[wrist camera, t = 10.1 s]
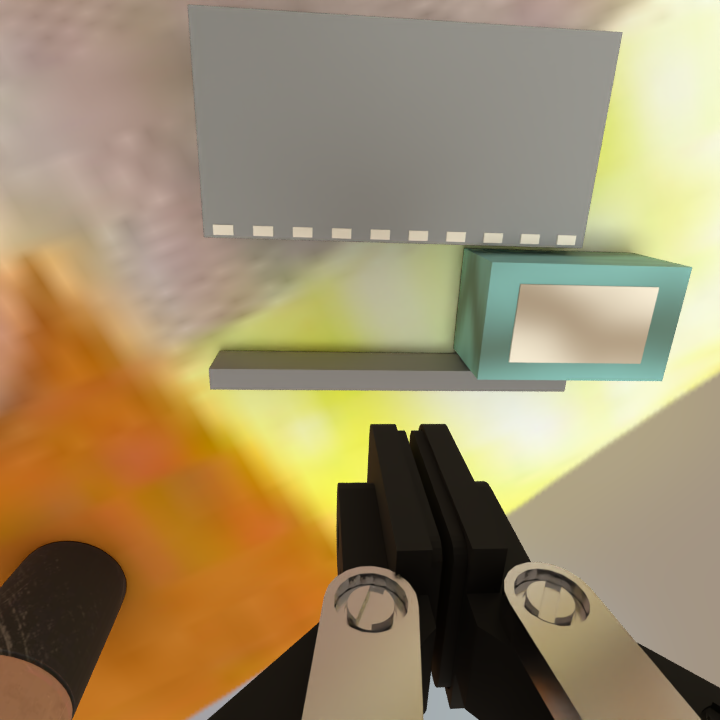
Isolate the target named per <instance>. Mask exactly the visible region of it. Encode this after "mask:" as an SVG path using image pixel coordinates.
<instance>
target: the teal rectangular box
mask: <svg viewBox="0 0 720 720" xmlns="http://www.w3.org/2000/svg"><path fill="white" fill-rule="evenodd" d="M691 270H692V267H688V266H684V265H680V264H676V263H672V262H668V261H663V260H659V259H655V258H651V257H647V256H643V255H639V254H635V253H615V252H580V251H544V250H509V249H474V248H464V255H463V264H462V274H461V283H460V293H459V302H458V311H457V321H456V330H455V339H454V350H455V351H456V352H457V353H458V355H459V356H460V357H461V359H462V360H463V361H464V363H465V364H466V365H467V367H468V368H469V369H470V371H471V372H472V373H473V374H474V376H475V377H476V378H477V380H597V381H662V379H663V376H664V372H665V368H666V364H667V361H668V357H669V353H670V349H671V345H672V342H673V338H674V334H675V330H676V327H677V323H678V319H679V315H680V312H681V308H682V304H683V300H684V297H685V293H686V289H687V285H688V282H689V278H690V274H691Z"/></svg>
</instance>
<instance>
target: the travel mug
mask: <svg viewBox="0 0 720 720" xmlns="http://www.w3.org/2000/svg"><path fill="white" fill-rule="evenodd" d="M125 593H126V580H125V576H124V573H123V571H122V569H121V568H120V566H119V565H118V564H117V562H116V561H115V560H114V559H113V558H112V557H110V556H109V555H108V554H107V553H105V552H103V551H102V550H100V549H98V548H96V547H93V546H90V545H87V544H83V543H78V542H56V543H51V544H48V545H45V546H42V547H40V548H38V549H37V550H35V551H34V552H32V553H31V554H30V555H29V556H28V557H27V558H26V559H25V560H24V561H23V562H22V563H21V564H20V566H19V567H18V568H17V569H16V570H15V571H14V572H13V574H12V575H11V576H10V577H9V578H8V579H7V581H6V582H5V583H4V584H3V585H2V586H1V588H0V720H72V718H73V716H74V714H75V712H76V709H77V707H78V705H79V702H80V700H81V698H82V695H83V693H84V691H85V688H86V686H87V684H88V682H89V679H90V677H91V675H92V672H93V670H94V668H95V665H96V663H97V661H98V658H99V656H100V654H101V651H102V649H103V647H104V645H105V642H106V640H107V638H108V635H109V633H110V631H111V628H112V626H113V624H114V621H115V619H116V617H117V614H118V612H119V610H120V607H121V605H122V602H123V599H124V596H125Z"/></svg>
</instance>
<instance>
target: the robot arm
mask: <svg viewBox="0 0 720 720" xmlns="http://www.w3.org/2000/svg"><path fill="white" fill-rule="evenodd" d="M337 569H338V576H337V577H336V578H335V579H334V580H333V581H332V582H331V583H330V585H329V586H328V588H327V591H326V593H325V596H324V600H323V606H322V611H321V617H320V622H319V623H318V624H317V625H316V626H314V627H313V628H312V629H311V630H310V631H309V632H308V633H306V634H305V635H304V636H303V637H302V638H301V639H299V640H298V641H297V642H296V643H295V644H294V645H293V646H291V647H290V648H289V649H288V650H287V651H286V652H285V653H283V654H282V655H281V656H280V657H279V658H278V659H277V660H275V661H274V662H273V663H272V664H271V665H270V666H268V667H267V668H266V669H265V670H264V671H263V672H262V673H260V674H259V675H258V676H257V677H256V678H255V679H254V680H252V681H251V682H250V683H249V684H248V685H247V686H246V687H244V688H243V689H242V690H241V691H240V692H239V693H237V694H236V695H235V696H234V697H233V698H232V699H231V700H230V701H228V702H227V703H226V704H225V705H224V706H223V707H222V708H220V709H219V710H218V711H217V712H216V713H215V714H213V715H212V716H211V717H210V718H209V719H208V720H423V714H424V713H425V711H426V709H427V700H428V692H429V684H430V676H431V672H432V677H433V681H434V684H435V686H436V687H445V690H446V694H447V698H448V702H449V707H450V709H455V708H465V709H466V710H467V711H468V712H470V713H471V714H472V715H474V716H475V717H476V718H477V719H479V720H720V688H719V687H717V686H716V685H714V684H712V683H710V682H708V681H706V680H705V679H703V678H701V677H699V676H697V675H695V674H693V673H692V672H690V671H688V670H686V669H684V668H682V667H681V666H679V665H677V664H675V663H673V662H671V661H670V660H668V659H666V658H664V657H662V656H661V655H659V654H657V653H655V652H653V651H652V650H649V649H648V648H646V647H644V646H642V645H641V644H639V643H637V642H636V641H635V640H634V639H633V638H632V637H631V635H630V634H629V633H628V632H627V631H626V629H625V628H624V627H623V626H622V625H621V624H620V622H619V621H618V620H617V619H616V618H615V616H614V615H613V614H612V613H611V612H610V610H609V609H608V608H607V607H606V606H605V605H604V603H603V602H602V601H601V600H600V599H599V597H598V596H597V595H596V594H595V593H594V591H593V590H592V589H591V588H590V587H589V586H588V585H586V583H585V582H584V581H583V580H581V579H580V578H578V577H577V576H575V575H574V574H572V573H571V572H569V571H567V570H565V569H563V568H560V567H558V566H555V565H552V564H546V563H542V562H531V561H530V559H529V557H528V556H527V554H526V552H525V550H524V548H523V546H522V545H521V543H520V541H519V539H518V537H517V535H516V533H515V532H514V530H513V528H512V526H511V524H510V522H509V521H508V519H507V517H506V515H505V513H504V511H503V509H502V508H501V506H500V504H499V502H498V500H497V498H496V496H495V495H494V493H493V491H492V489H491V487H490V486H489V484H488V483H487V482H484V481H474V479H473V477H472V475H471V473H470V471H469V469H468V467H467V465H466V463H465V461H464V459H463V457H462V455H461V453H460V451H459V449H458V447H457V445H456V443H455V441H454V439H453V437H452V435H451V433H450V431H449V429H448V427H447V426H446V424H421V425H420V427H419V431H411V434H410V444H409V441H408V438H407V435H406V432H405V431H397V427H396V425H395V424H371V425H370V434H369V454H368V475H367V483H338V487H337Z"/></svg>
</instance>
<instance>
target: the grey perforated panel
mask: <svg viewBox="0 0 720 720" xmlns="http://www.w3.org/2000/svg"><path fill="white" fill-rule="evenodd" d="M188 17H189V31H190V46H191V60H192V74H193V88H194V102H195V116H196V131H197V145H198V159H199V173H200V187H201V202H202V216H203V230H204V237H212V238H246V239H281V240H316V241H350V242H385V243H420V244H454V245H489V246H524V247H558V248H582V246H583V241H584V235H585V230H586V225H587V219H588V214H589V209H590V203H591V198H592V193H593V187H594V182H595V177H596V171H597V166H598V161H599V155H600V150H601V145H602V139H603V134H604V128H605V123H606V118H607V112H608V107H609V102H610V96H611V91H612V86H613V80H614V75H615V70H616V64H617V59H618V54H619V48H620V43H621V38H622V32H610V31H595V30H579V29H563V28H548V27H532V26H516V25H501V24H485V23H469V22H454V21H438V20H422V19H406V18H391V17H375V16H359V15H344V14H328V13H312V12H297V11H281V10H265V9H250V8H234V7H218V6H203V5H188ZM209 377H210V389H230V390H399V391H564V390H565V385H566V380H477V378H476V377H475V376H474V374H473V373H472V372H471V371H470V369H469V368H468V367H467V365H466V364H465V363H464V361H463V360H462V359H461V357H460V356H459V355H458V353H377V352H292V351H219V353H218V355H217V356H216V358H215V360H214V361H213V363H212V365H211V366H210V368H209Z"/></svg>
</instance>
